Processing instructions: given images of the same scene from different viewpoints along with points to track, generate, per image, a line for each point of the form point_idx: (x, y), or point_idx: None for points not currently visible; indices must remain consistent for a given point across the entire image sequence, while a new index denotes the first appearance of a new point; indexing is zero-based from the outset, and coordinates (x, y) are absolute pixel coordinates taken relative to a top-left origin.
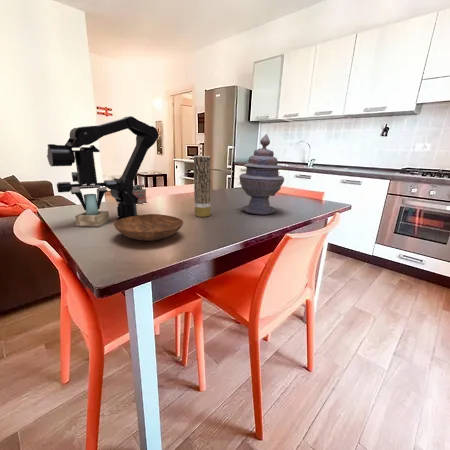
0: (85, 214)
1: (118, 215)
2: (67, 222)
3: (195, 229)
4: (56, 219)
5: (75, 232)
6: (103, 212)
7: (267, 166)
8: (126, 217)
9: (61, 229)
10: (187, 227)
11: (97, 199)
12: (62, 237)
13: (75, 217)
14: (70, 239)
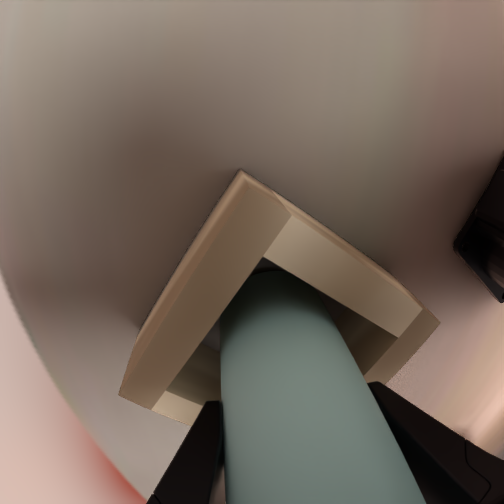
0: (210, 321)
1: (482, 220)
2: (54, 136)
3: (493, 452)
4: (2, 3)
5: (151, 426)
6: (388, 360)
7: None
8: (492, 278)
9: (55, 339)
10: (500, 438)
11: (418, 482)
12: (110, 454)
13: (122, 386)
14: (150, 480)
